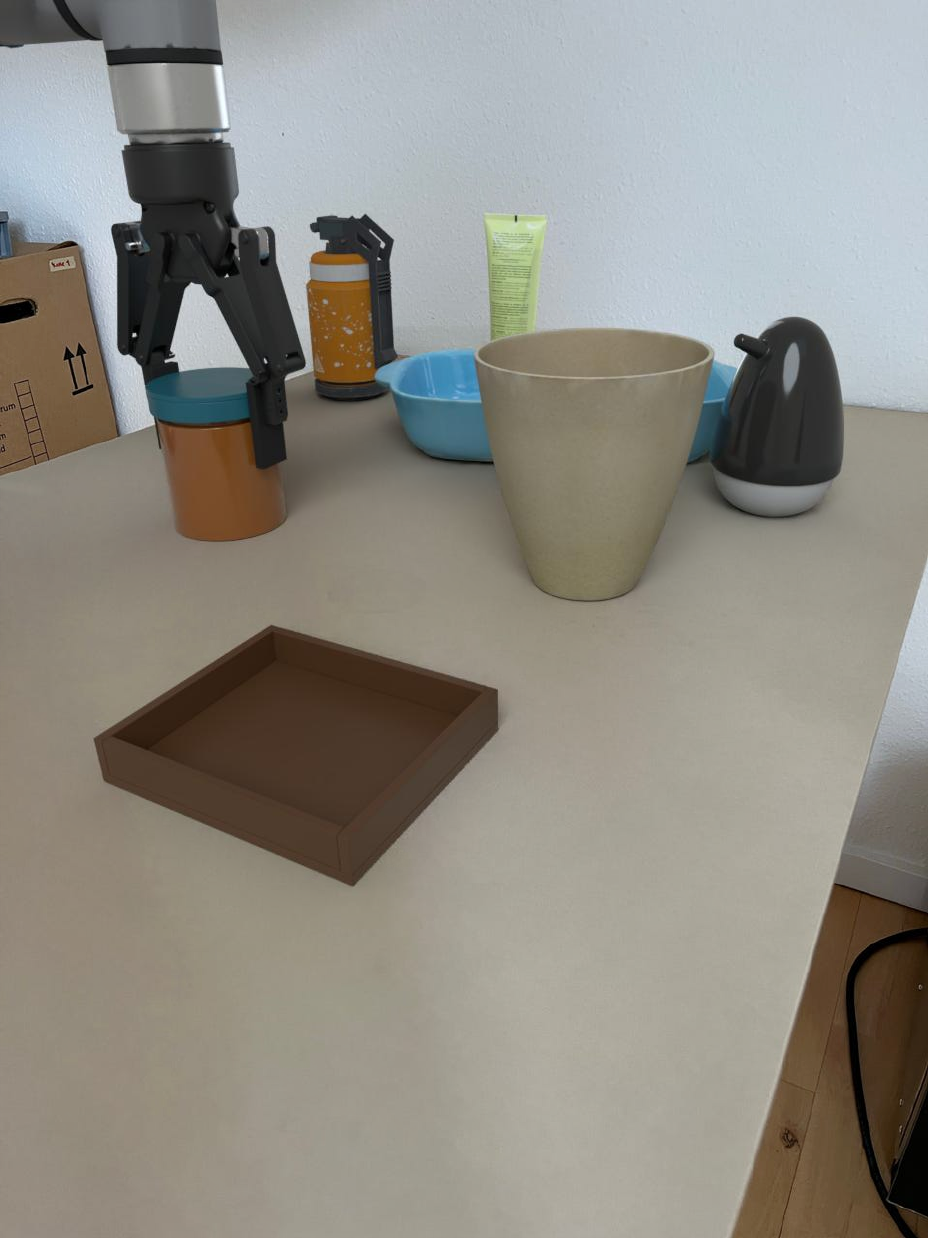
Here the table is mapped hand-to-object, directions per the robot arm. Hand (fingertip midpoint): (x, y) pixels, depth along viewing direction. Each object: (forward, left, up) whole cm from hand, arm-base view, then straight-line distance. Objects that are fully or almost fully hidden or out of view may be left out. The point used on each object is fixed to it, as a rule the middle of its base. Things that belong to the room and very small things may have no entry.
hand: (221, 453), depth 75 cm
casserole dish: (+15, +32, -6) cm, 36 cm away
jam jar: (0, 0, -6) cm, 6 cm away
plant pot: (+30, +3, -6) cm, 31 cm away
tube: (+1, +49, -6) cm, 49 cm away
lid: (0, 0, +5) cm, 5 cm away
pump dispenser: (+38, +23, -6) cm, 45 cm away
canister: (-14, +38, -6) cm, 41 cm away
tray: (+26, -23, -6) cm, 35 cm away
